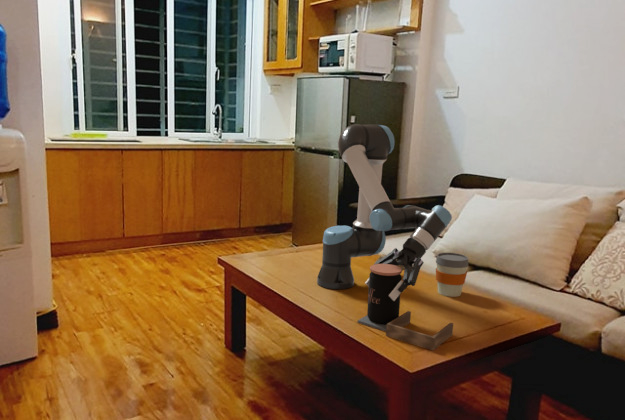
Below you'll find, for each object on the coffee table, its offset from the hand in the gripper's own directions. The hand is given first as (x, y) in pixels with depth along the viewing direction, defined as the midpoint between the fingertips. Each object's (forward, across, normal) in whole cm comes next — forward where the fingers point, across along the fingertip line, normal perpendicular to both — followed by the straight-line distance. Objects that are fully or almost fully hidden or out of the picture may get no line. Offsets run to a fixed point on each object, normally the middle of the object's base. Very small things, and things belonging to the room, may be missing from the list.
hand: (379, 291), depth 177 cm
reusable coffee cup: (-24, +14, -40) cm, 48 cm away
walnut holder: (+3, -14, -13) cm, 19 cm away
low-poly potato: (-17, +40, -33) cm, 54 cm away
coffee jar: (+6, 0, -9) cm, 11 cm away
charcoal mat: (+6, 0, -9) cm, 11 cm away
